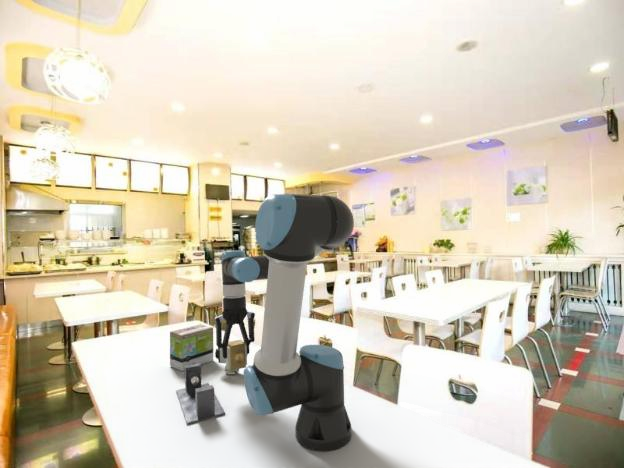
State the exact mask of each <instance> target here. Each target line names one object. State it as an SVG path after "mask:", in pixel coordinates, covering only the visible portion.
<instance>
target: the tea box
mask: <svg viewBox="0 0 624 468" xmlns="http://www.w3.org/2000/svg"><path fill="white" fill-rule="evenodd" d="M213 361H214V327H212V326H208V325H204V324H201V323H200V324H196V325H193V326H188V327H184V328H180V329H176V330H171V331H170V332H169V366H170V367H172V368H173V369H176V370H179V371H181V372H185V366H187V365H192V364H197V363H200V365H201V366H202V365H204V364H206V363H210V362H213Z"/></svg>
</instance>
